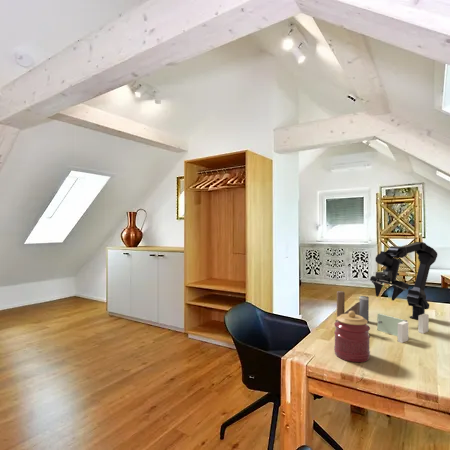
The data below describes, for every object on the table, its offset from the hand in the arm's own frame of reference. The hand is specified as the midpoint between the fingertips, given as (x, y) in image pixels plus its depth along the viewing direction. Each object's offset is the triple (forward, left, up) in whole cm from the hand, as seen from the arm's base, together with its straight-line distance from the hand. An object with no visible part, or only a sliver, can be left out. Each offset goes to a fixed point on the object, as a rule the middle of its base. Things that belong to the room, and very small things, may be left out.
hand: (384, 298), depth 157 cm
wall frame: (+5, +16, -13) cm, 22 cm away
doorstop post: (+4, -9, -13) cm, 17 cm away
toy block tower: (+22, -7, -14) cm, 27 cm away
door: (+12, +9, -13) cm, 20 cm away
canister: (+48, +12, -14) cm, 52 cm away
